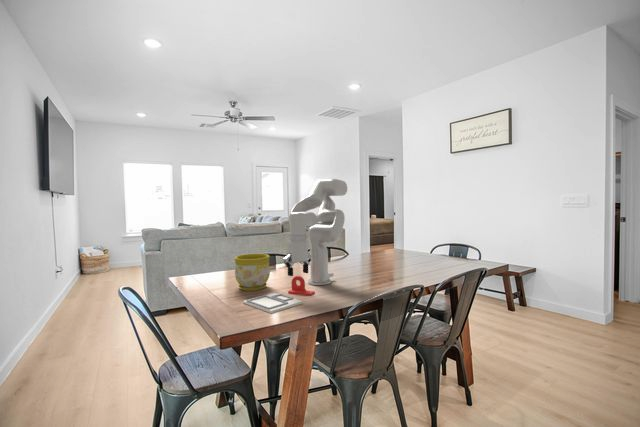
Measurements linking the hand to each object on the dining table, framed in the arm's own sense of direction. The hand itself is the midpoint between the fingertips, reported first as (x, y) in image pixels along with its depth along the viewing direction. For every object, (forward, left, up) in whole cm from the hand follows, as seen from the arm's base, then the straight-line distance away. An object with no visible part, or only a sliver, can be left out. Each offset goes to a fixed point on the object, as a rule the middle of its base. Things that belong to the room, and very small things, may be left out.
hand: (298, 274), depth 159 cm
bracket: (-2, 0, -10) cm, 10 cm away
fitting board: (+17, +2, -10) cm, 20 cm away
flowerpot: (+7, -27, -10) cm, 30 cm away
